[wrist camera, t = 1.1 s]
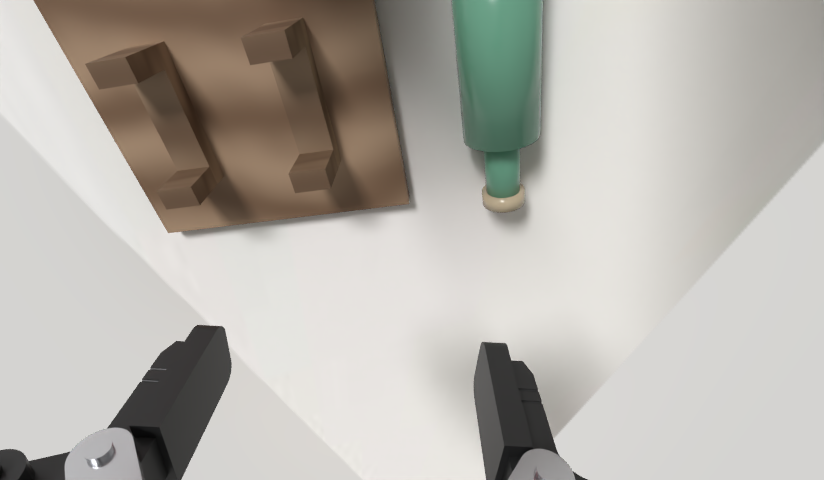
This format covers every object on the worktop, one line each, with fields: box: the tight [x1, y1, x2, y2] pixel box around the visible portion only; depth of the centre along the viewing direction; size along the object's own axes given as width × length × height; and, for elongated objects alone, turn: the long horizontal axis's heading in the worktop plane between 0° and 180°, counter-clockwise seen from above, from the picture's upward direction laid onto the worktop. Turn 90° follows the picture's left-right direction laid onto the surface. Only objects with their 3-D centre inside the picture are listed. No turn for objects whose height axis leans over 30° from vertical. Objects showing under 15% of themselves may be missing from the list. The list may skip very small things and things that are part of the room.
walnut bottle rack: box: [34, 0, 409, 233], centre depth 28 cm, size 18×20×6 cm
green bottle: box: [451, 0, 543, 213], centre depth 27 cm, size 17×5×5 cm, turn 9°
